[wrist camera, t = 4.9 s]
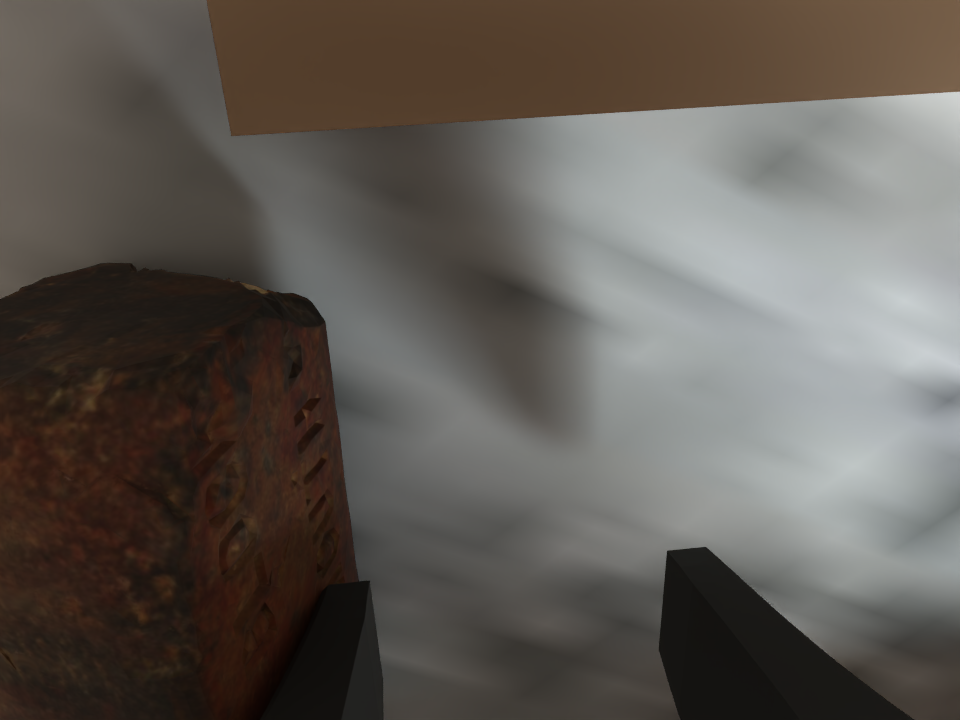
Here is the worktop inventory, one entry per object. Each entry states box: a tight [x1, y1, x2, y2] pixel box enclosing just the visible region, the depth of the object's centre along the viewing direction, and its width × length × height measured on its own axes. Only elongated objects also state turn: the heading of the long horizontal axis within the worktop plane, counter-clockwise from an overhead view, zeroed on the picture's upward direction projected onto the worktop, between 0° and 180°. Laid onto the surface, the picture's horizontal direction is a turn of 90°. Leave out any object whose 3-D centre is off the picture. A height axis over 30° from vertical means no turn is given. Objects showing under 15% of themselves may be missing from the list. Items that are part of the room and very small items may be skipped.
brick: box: [0, 263, 359, 720], centre depth 11 cm, size 11×4×5 cm, turn 2°
